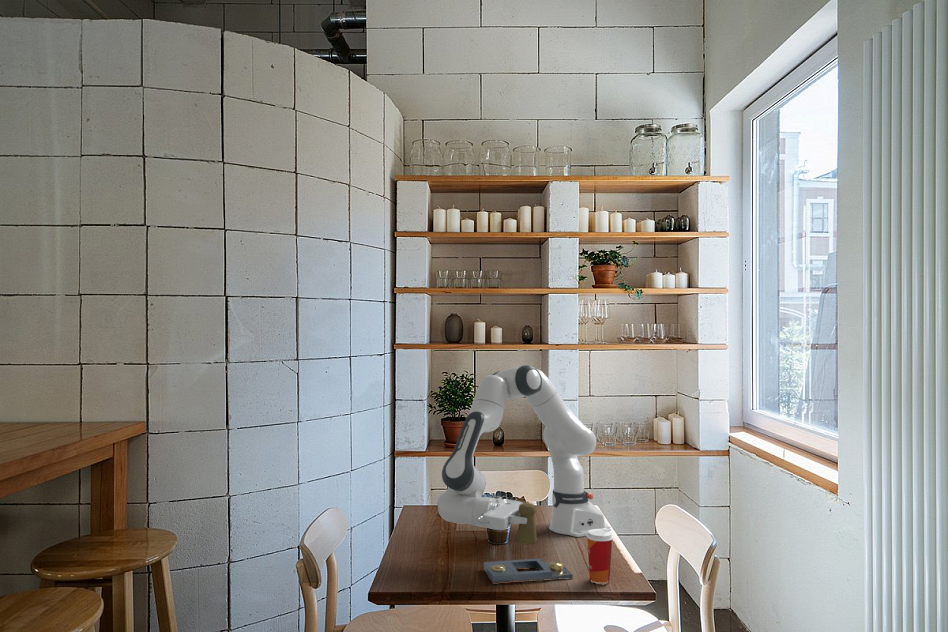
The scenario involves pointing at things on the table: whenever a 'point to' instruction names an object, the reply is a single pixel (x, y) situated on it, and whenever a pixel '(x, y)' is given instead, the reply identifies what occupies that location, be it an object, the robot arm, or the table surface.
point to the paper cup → (599, 554)
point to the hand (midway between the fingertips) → (530, 518)
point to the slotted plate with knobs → (508, 572)
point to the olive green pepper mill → (527, 524)
